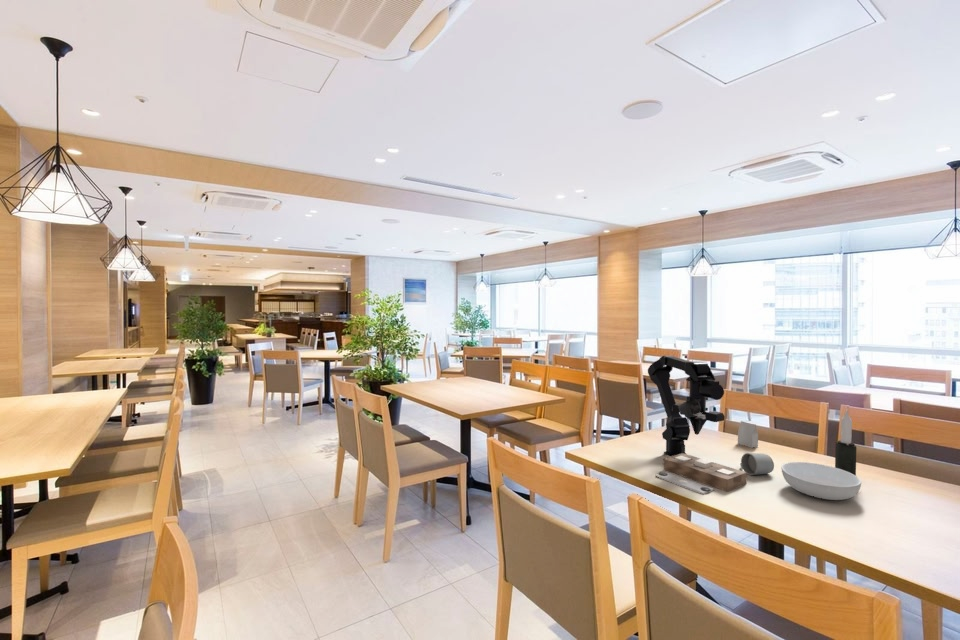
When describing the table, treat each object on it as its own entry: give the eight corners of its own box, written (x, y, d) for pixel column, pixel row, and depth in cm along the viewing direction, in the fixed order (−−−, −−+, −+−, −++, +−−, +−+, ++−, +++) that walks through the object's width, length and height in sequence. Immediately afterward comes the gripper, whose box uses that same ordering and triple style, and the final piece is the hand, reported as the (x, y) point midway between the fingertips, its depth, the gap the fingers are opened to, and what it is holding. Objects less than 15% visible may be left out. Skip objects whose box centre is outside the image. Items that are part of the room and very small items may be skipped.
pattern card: (654, 476, 161) (654, 474, 161) (664, 472, 164) (664, 470, 164) (704, 495, 145) (704, 492, 145) (715, 490, 148) (715, 488, 148)
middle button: (694, 468, 162) (694, 460, 161) (701, 466, 164) (701, 458, 164) (705, 472, 158) (705, 463, 158) (711, 470, 160) (711, 461, 160)
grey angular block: (752, 448, 193) (752, 425, 193) (737, 443, 199) (738, 421, 199) (757, 446, 194) (758, 424, 194) (743, 442, 201) (743, 420, 200)
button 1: (674, 465, 168) (674, 457, 168) (681, 463, 170) (681, 455, 170) (684, 468, 165) (684, 460, 165) (690, 466, 167) (691, 458, 167)
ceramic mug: (775, 476, 161) (776, 455, 161) (756, 478, 159) (756, 456, 159) (752, 466, 171) (752, 446, 171) (733, 468, 170) (734, 448, 169)
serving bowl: (766, 487, 152) (767, 467, 151) (805, 477, 160) (805, 458, 160) (835, 513, 133) (836, 490, 132) (875, 500, 141) (876, 479, 141)
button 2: (716, 479, 155) (716, 470, 155) (722, 476, 157) (722, 468, 157) (728, 483, 151) (728, 474, 151) (734, 480, 154) (734, 472, 154)
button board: (663, 469, 168) (663, 458, 168) (682, 463, 174) (682, 453, 174) (727, 491, 148) (727, 479, 148) (746, 483, 154) (746, 472, 154)
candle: (851, 478, 159) (853, 409, 158) (856, 483, 154) (858, 412, 153) (833, 476, 161) (835, 407, 160) (838, 481, 156) (840, 410, 155)
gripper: (663, 392, 176) (662, 431, 176) (707, 401, 159) (706, 444, 160) (681, 389, 181) (680, 427, 182) (725, 398, 165) (724, 439, 165)
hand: (696, 434), depth 172 cm, fingers closed
